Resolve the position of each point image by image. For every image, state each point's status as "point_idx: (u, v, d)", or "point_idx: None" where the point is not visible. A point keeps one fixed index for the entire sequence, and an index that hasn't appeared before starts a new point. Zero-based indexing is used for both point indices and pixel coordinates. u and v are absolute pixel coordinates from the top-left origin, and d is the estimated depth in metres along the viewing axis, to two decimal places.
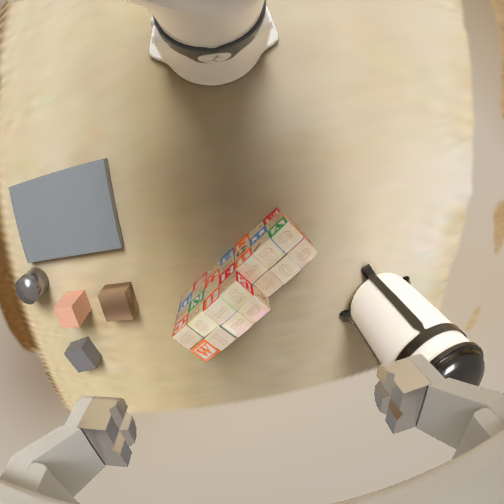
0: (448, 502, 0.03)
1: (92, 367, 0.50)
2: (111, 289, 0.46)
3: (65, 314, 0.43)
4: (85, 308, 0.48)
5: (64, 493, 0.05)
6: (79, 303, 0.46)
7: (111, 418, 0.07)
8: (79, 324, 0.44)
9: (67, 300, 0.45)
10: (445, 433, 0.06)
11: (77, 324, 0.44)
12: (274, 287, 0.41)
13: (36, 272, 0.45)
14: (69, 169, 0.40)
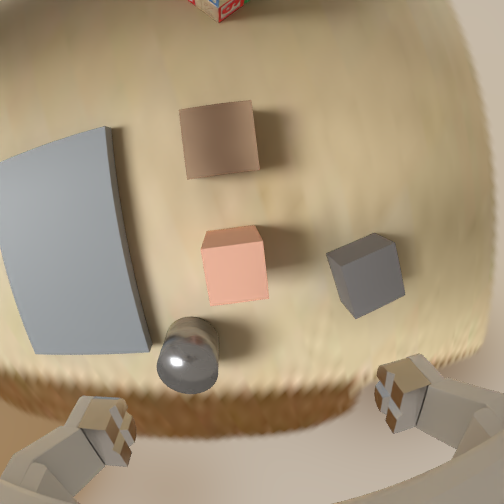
0: (448, 502, 0.03)
1: (393, 252, 0.23)
2: None
3: (226, 274, 0.20)
4: (240, 231, 0.24)
5: (64, 493, 0.05)
6: (216, 238, 0.22)
7: (111, 418, 0.07)
8: (257, 240, 0.20)
9: None
10: (445, 433, 0.06)
11: (255, 245, 0.20)
12: None
13: (165, 338, 0.26)
14: None
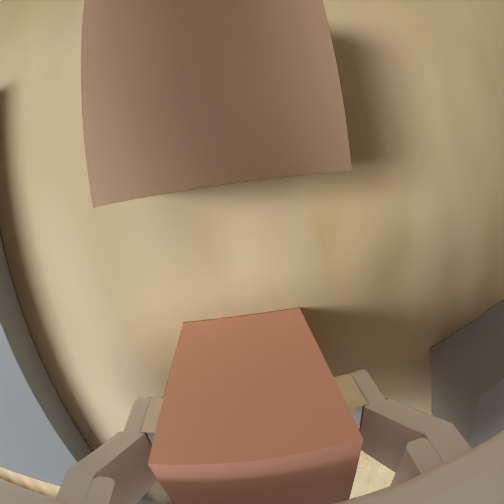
0: (448, 502, 0.03)
1: None
2: None
3: None
4: (269, 342, 0.08)
5: None
6: (203, 377, 0.07)
7: None
8: (341, 432, 0.05)
9: None
10: (386, 457, 0.06)
11: (334, 451, 0.05)
12: None
13: None
14: None
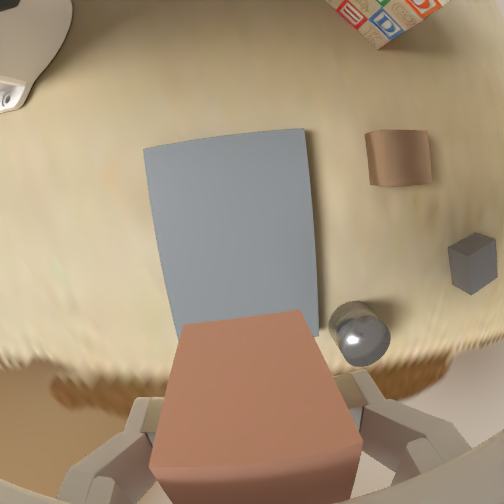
0: (448, 502, 0.03)
1: (494, 246, 0.27)
2: (377, 163, 0.26)
3: None
4: (269, 344, 0.08)
5: None
6: (203, 380, 0.07)
7: None
8: (341, 434, 0.05)
9: None
10: (386, 457, 0.06)
11: (335, 454, 0.05)
12: None
13: (337, 320, 0.30)
14: (155, 218, 0.26)
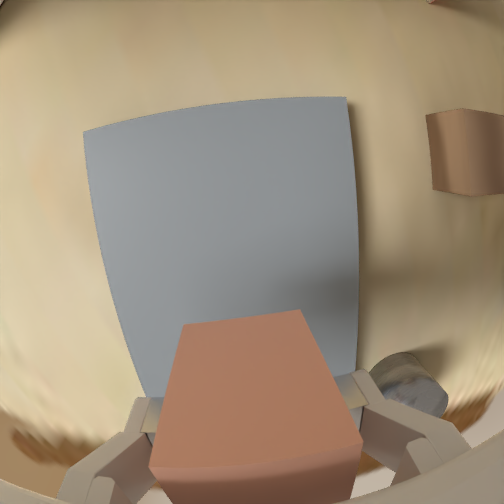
0: (448, 502, 0.03)
1: None
2: (450, 159, 0.15)
3: None
4: (269, 344, 0.08)
5: None
6: (203, 380, 0.07)
7: None
8: (341, 435, 0.05)
9: None
10: (386, 457, 0.06)
11: (335, 454, 0.05)
12: None
13: (379, 383, 0.19)
14: (103, 244, 0.15)
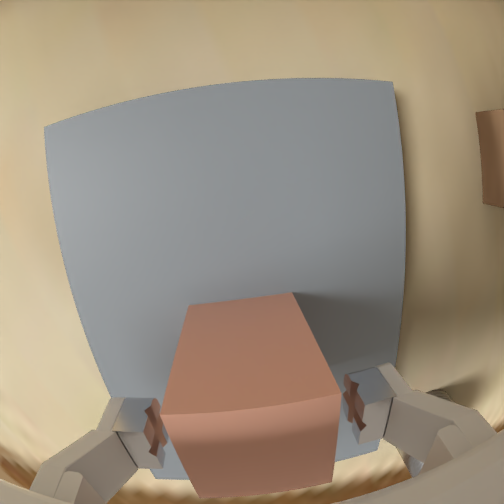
0: (448, 502, 0.03)
1: None
2: None
3: (235, 459, 0.06)
4: (264, 319, 0.10)
5: (100, 501, 0.05)
6: (207, 347, 0.09)
7: (148, 419, 0.07)
8: (323, 387, 0.06)
9: None
10: (413, 447, 0.06)
11: (317, 403, 0.06)
12: None
13: None
14: (71, 274, 0.11)
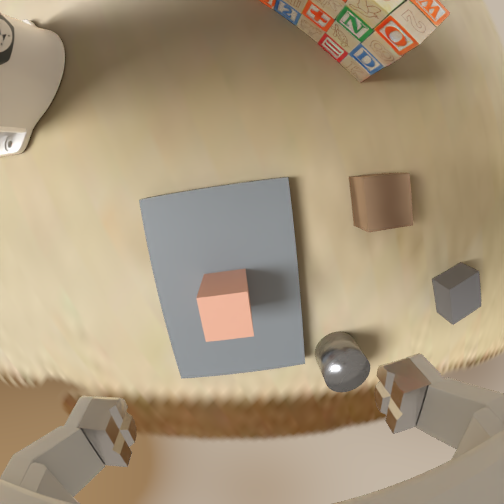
0: (448, 502, 0.03)
1: (477, 277, 0.29)
2: (359, 208, 0.28)
3: (218, 317, 0.24)
4: (231, 276, 0.28)
5: (64, 493, 0.05)
6: (210, 284, 0.26)
7: (111, 418, 0.07)
8: (243, 290, 0.24)
9: None
10: (445, 433, 0.06)
11: (240, 294, 0.24)
12: None
13: (322, 350, 0.32)
14: (153, 262, 0.29)
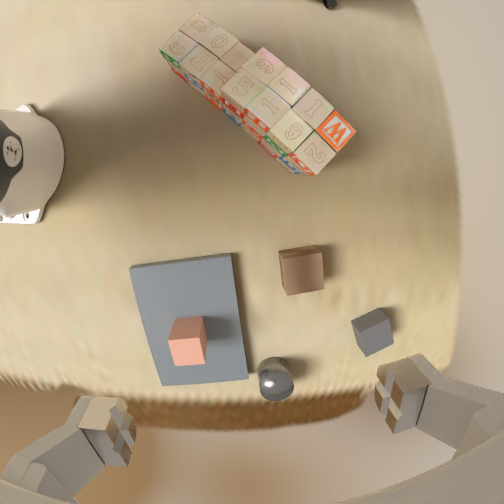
0: (448, 502, 0.03)
1: (388, 322, 0.42)
2: (283, 276, 0.41)
3: (181, 351, 0.37)
4: (192, 323, 0.40)
5: (64, 493, 0.05)
6: (178, 329, 0.39)
7: (111, 418, 0.07)
8: (196, 336, 0.36)
9: None
10: (445, 433, 0.06)
11: (195, 339, 0.36)
12: (244, 50, 0.27)
13: (260, 370, 0.45)
14: (140, 310, 0.41)
